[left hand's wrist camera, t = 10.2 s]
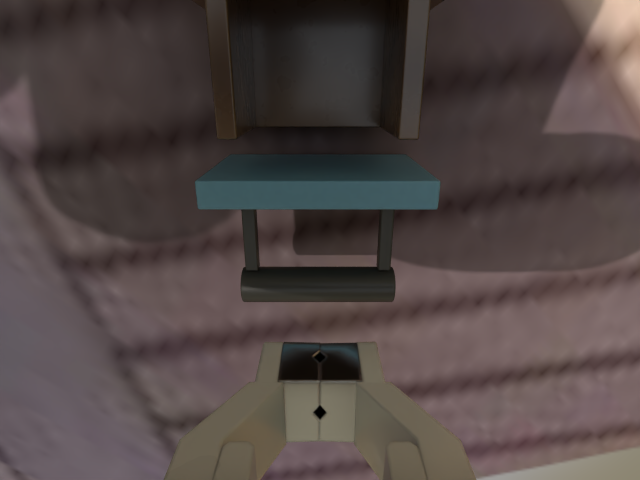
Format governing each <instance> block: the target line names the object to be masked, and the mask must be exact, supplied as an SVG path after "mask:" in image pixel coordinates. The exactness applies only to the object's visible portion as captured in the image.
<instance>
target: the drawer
mask: <svg viewBox="0 0 640 480" xmlns="http://www.w3.org/2000/svg"><path fill="white" fill-rule="evenodd" d="M430 2H431V0H205V9H206V21H207V32H208V43H209V54H210V65H211V76H212V87H213V98H214V110H215V121H216V132H217V138H218V139H237V138H239V137H240V136H242V135H243V134H245V133H247V132H248V131H250V130H251V129H253V128H255V127H381V128H383V129H384V130H386V131H387V132H389V133H390V134H392V135H393V136H395V137H396V138H398V139H400V140H417V139H418V138H419V128H420V116H421V105H422V93H423V82H424V70H425V59H426V47H427V36H428V25H429V13H430ZM440 183H441V182H440V181H439V180H438V179H437V178H435V177H434V176H433V175H432V174H430V173H429V172H428V171H426V170H425V169H424V168H423V167H421V166H420V165H419V164H418V163H416V162H415V161H414V160H412V159H411V158H410V157H409V156H407V155H406V154H231V155H229V156H228V157H226V158H225V159H224V160H223V161H221V162H220V163H219V164H217V165H216V166H215V167H213V168H212V169H211V170H209V171H208V172H207V173H205V174H204V175H203V176H201V177H200V178H199V179H197V180H196V181H195V188H196V196H197V205H198V209H241V210H242V224H243V237H244V251H245V265H246V267H244V268H243V271H242V275H241V296H242V300H243V301H244V302H392V301H393V300H394V297H395V274H394V270H393V268H392V267H390V266H391V252H392V237H393V223H394V209H437V208H438V201H439V192H440ZM256 209H380V215H379V232H378V250H377V267H259V266H260V263H259V246H258V229H257V212H256Z"/></svg>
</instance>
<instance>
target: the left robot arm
mask: <svg viewBox="0 0 640 480" xmlns="http://www.w3.org/2000/svg"><path fill="white" fill-rule="evenodd" d="M308 441H331V442H354V444H355V446H356V447H357V449H358V450H359V451H360V453H361V454H362V455H363V457H364V458H365V460H366V461H367V462H368V464H369V465H370V466H371V468H372V469H373V471H374V472H375V473H376V475H377V476H378V478H379V479H380V480H476V478H475V475H474V473H473V470H472V468H471V465H470V463H469V460H468V458H467V455H466V453H465V450H464V448H463V445H462V443H461V440H460V439H458V438H457V437H456V436H455V435H454V434H452V433H451V432H450V431H449V430H448V429H446V428H445V427H444V426H443V425H442V424H440V423H439V422H438V421H437V420H435V419H434V418H433V417H432V416H431V415H429V414H428V413H427V412H426V411H425V410H423V409H422V408H421V407H420V406H419V405H417V404H416V403H415V402H414V401H413V400H411V399H410V398H409V397H408V396H407V395H405V394H404V393H403V392H402V391H401V390H399V389H398V388H397V387H396V386H395V385H393V384H392V383H391V382H385V379H384V375H383V370H382V366H381V361H380V357H379V353H378V348H377V344H376V343H375V342H357V343H304V342H284V343H283V342H265V343H264V344H263V348H262V352H261V357H260V361H259V366H258V370H257V375H256V379H255V382H249V383H248V384H247V385H245V386H244V387H243V388H242V389H241V390H239V391H238V392H237V393H236V394H235V395H233V396H232V397H231V398H230V399H228V400H227V401H226V402H225V403H224V404H222V405H221V406H220V407H219V408H218V409H216V410H215V411H214V412H213V413H212V414H210V415H209V416H208V417H207V418H206V419H204V420H203V421H202V422H201V423H199V424H198V425H197V426H196V427H195V428H193V429H192V430H191V431H190V432H189V433H187V434H186V435H185V436H184V437H183V438H181V439H180V441H179V443H178V446H177V448H176V451H175V453H174V455H173V458H172V460H171V463H170V465H169V468H168V470H167V473H166V475H165V478H164V480H260V479H261V478H262V476H263V475H264V474H265V472H266V471H267V470H268V468H269V467H270V465H271V464H272V463H273V461H274V460H275V459H276V457H277V456H278V454H279V453H280V452H281V450H282V449H283V448H284V446H285V445H286V442H308Z"/></svg>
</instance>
